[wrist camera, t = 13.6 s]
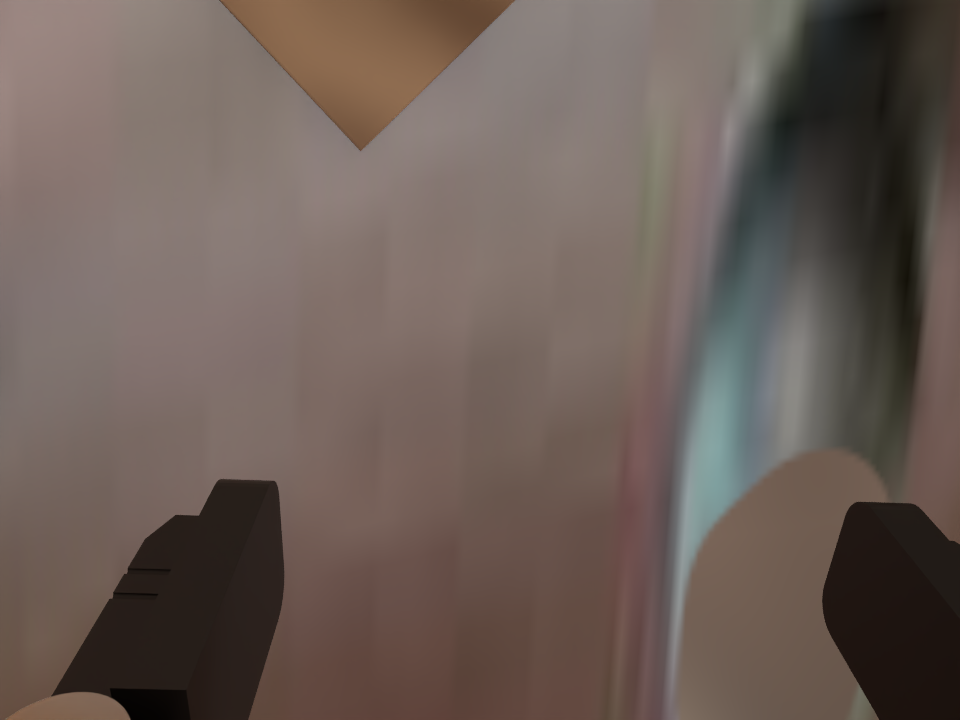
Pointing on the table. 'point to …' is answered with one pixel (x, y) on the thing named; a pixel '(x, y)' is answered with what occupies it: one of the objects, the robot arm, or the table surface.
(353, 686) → the table surface
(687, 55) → the table surface
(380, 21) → the post stand
